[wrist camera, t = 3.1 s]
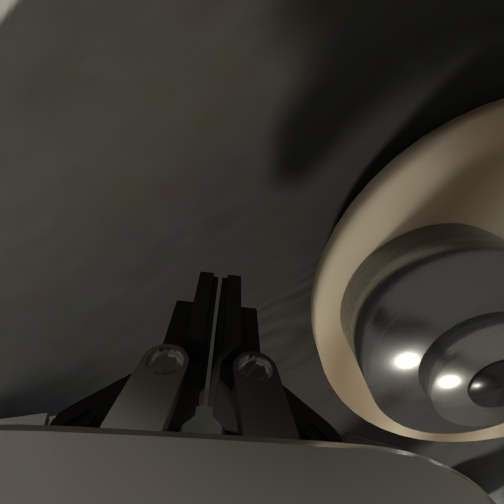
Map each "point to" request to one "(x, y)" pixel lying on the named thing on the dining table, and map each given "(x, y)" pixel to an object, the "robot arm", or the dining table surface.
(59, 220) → the dining table surface
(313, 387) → the dining table surface
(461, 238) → the cover
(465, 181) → the turntable
